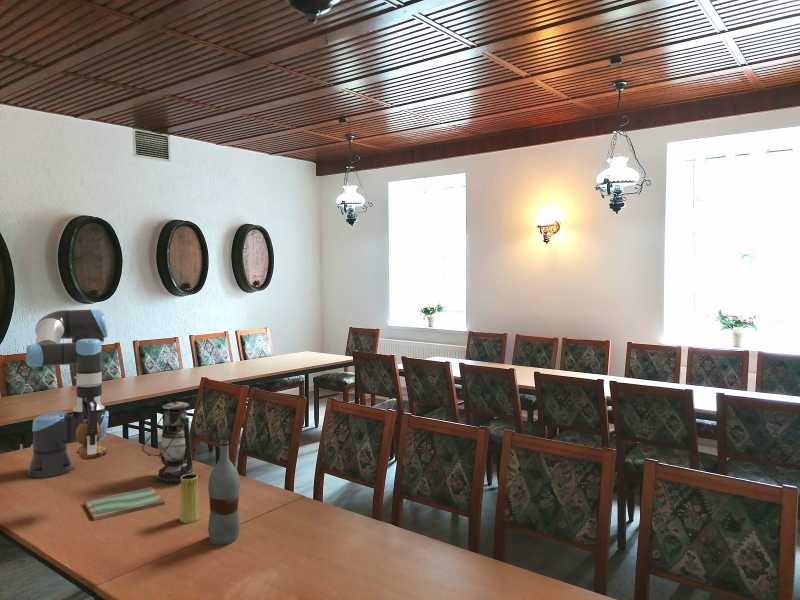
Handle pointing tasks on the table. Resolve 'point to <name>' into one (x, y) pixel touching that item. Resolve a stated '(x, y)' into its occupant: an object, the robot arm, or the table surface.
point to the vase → (189, 498)
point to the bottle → (224, 500)
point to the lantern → (174, 444)
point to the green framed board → (123, 503)
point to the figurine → (82, 439)
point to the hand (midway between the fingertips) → (89, 450)
